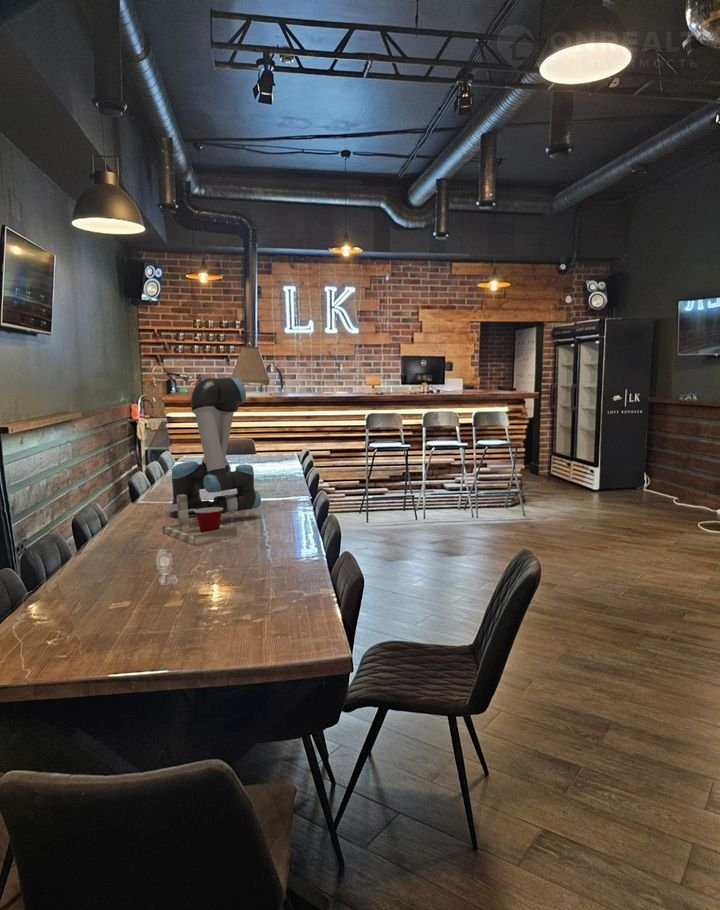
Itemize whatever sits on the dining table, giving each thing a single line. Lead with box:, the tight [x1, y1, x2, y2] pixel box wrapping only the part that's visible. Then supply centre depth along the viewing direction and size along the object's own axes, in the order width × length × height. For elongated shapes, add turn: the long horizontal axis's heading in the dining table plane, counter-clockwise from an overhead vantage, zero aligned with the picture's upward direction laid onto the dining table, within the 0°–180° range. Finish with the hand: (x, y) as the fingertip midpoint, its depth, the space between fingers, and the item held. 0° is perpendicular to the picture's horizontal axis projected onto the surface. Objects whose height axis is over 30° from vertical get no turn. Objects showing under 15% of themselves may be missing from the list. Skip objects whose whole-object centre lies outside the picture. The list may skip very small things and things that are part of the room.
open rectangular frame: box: [162, 494, 238, 547], centre depth 228 cm, size 28×17×14 cm, turn 44°
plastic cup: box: [194, 507, 223, 533], centre depth 222 cm, size 11×11×12 cm
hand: (174, 511), depth 236 cm, fingers open, 13 cm apart
